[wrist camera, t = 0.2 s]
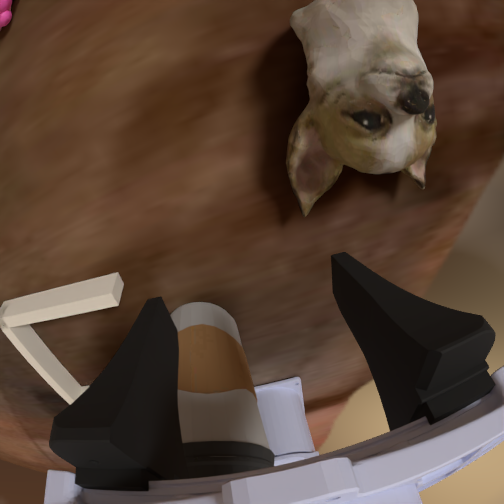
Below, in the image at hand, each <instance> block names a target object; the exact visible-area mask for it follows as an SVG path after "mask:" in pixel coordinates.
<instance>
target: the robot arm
mask: <svg viewBox="0 0 504 504" xmlns="http://www.w3.org/2000/svg"><path fill="white" fill-rule="evenodd" d="M331 263H332V285H333V294H334V297H335V299H336V302H337V304H338V307H339V309H340V311H341V313H342V315H343V317H344V319H345V321H346V322H347V324H348V326H349V328H350V330H351V332H352V333H353V335H354V337H355V339H356V341H357V342H358V344H359V346H360V348H361V350H362V352H363V354H364V356H365V358H366V360H367V363H368V365H369V368H370V370H371V373H372V376H373V378H374V381H375V384H376V387H377V390H378V392H379V395H380V398H381V402H382V404H383V408H384V411H385V414H386V418H387V421H388V425H389V429H390V432H387V433H385V434H383V435H380V436H377V437H374V438H372V439H369V440H366V441H363V442H360V443H357V444H355V445H352V446H348V447H345V448H342V449H339V450H336V451H333V452H329V453H326V454H323V455H319V452H318V451H317V452H315V448H314V445H313V441H312V438H311V434H310V431H309V427H308V424H307V420H306V417H305V414H304V413H305V411H304V402H303V394H302V386H301V380H300V378H299V377H294V378H290V379H286V380H282V381H278V382H274V383H269V384H265V385H261V386H256V387H254V389H255V393H256V396H257V405H258V409H259V412H260V416H261V419H262V423H263V427H264V430H265V434H266V437H267V441H268V444H269V448H270V450H272V452H273V453H274V455H275V460H274V467H269V468H264V469H258V470H253V471H247V472H241V473H235V474H228V475H220V476H212V477H203V478H193V479H190V478H189V473H188V469H187V464H186V460H185V454H184V449H183V443H182V436H181V429H180V421H179V412H178V367H179V342H178V331H177V328H176V326H175V324H174V322H173V320H172V318H171V316H170V314H169V312H168V310H167V308H166V306H165V304H164V302H163V300H162V297H156V298H152V299H148V300H147V302H146V303H145V305H144V307H143V308H142V310H141V312H140V314H139V316H138V317H137V319H136V321H135V323H134V325H133V326H132V328H131V330H130V332H129V333H128V335H127V337H126V338H125V340H124V341H123V343H122V345H121V346H120V348H119V349H118V351H117V353H116V354H115V355H114V357H113V358H112V360H111V361H110V362H109V364H108V365H107V366H106V368H105V369H104V370H103V371H102V373H101V374H100V375H99V376H98V377H97V378H96V380H95V381H94V382H93V383H92V384H91V385H90V386H89V387H88V388H87V389H86V390H85V391H84V392H83V393H82V394H81V395H80V396H79V397H78V398H77V399H76V400H75V401H74V402H73V403H72V404H71V405H69V406H68V407H67V408H66V409H64V410H63V411H62V412H61V413H59V414H58V415H57V416H55V417H54V420H53V425H52V430H51V435H50V441H49V447H50V448H51V449H52V451H53V452H54V453H55V454H57V455H58V456H59V457H61V458H62V459H64V460H65V461H67V462H69V463H70V464H72V465H73V466H75V467H76V474H75V473H72V472H68V471H60V470H51V469H49V470H48V474H47V482H46V491H45V500H44V504H423V503H422V500H421V498H420V495H419V493H418V492H420V491H422V490H424V489H426V488H428V487H430V486H432V485H434V484H436V483H437V482H439V481H441V480H443V479H445V478H446V477H448V476H450V475H452V474H453V473H455V472H457V471H459V470H460V469H462V468H463V467H465V466H467V465H468V464H470V463H471V462H473V461H475V460H476V459H478V458H479V457H481V456H482V455H484V454H485V453H487V452H488V451H490V450H491V449H492V448H494V447H495V446H497V445H498V444H500V443H501V442H502V441H504V366H502V367H501V368H499V369H498V370H496V371H495V372H494V373H493V374H492V375H491V376H490V375H489V373H488V372H487V370H488V368H489V366H488V364H487V362H486V361H485V359H486V357H487V355H488V353H489V352H490V350H491V348H492V346H493V344H494V341H495V332H494V330H493V329H492V327H491V326H490V325H489V324H488V322H487V321H486V320H485V319H484V318H483V317H482V316H481V315H476V314H471V313H466V312H461V311H457V310H454V309H450V308H447V307H444V306H441V305H438V304H435V303H432V302H430V301H427V300H425V299H422V298H420V297H418V296H415V295H413V294H411V293H409V292H407V291H405V290H403V289H401V288H399V287H398V286H396V285H394V284H392V283H391V282H389V281H387V280H386V279H384V278H382V277H381V276H379V275H378V274H376V273H375V272H373V271H372V270H370V269H369V268H367V267H366V266H364V265H363V264H362V263H360V262H359V261H357V260H356V259H354V258H353V257H352V256H350V255H349V254H347V253H346V252H342V253H338V254H334V255H331Z"/></svg>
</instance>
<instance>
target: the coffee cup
mask: <svg viewBox="0 0 504 504" xmlns="http://www.w3.org/2000/svg"><path fill="white" fill-rule="evenodd" d="M170 316H171V318H172V320H173V322H174V324H175V326H176V328H177V331H178V342H179V367H178V412H179V421H180V429H181V436H182V443H183V449H184V454H185V460H186V464H187V469H188V473H189V478H190V479H193V478H203V477H212V476H220V475H228V474H235V473H241V472H247V471H253V470H258V469H264V468H269V467H274V460H275V455H274V453H273V452H272V450H270V448H269V444H268V441H267V437H266V434H265V430H264V427H263V423H262V419H261V416H260V412H259V409H258V405H257V396H256V393H255V389H254V385H253V382H252V378H251V374H250V370H249V367H248V363H247V359H246V356H245V352H244V350H243V348H242V344H241V341H240V337H239V333H238V329H237V325H236V323H235V321H234V319H233V318H232V317H231V316H230V314H229V313H227V312H226V310H224V309H223V308H221V307H219V306H217V305H214V304H211V303H205V302H194V303H189V304H185V305H183V306H181V307H179V308H177V309H176V310H174V311H173V312H172V313H171V315H170Z"/></svg>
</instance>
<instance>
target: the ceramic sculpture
mask: <svg viewBox="0 0 504 504" xmlns="http://www.w3.org/2000/svg"><path fill="white" fill-rule="evenodd" d="M290 25H291V27H292V28H293V30H294V31H295V33H296V35H297V37H298V38H299V39H300V41H301V42H302V44H303V49H304V52H305V55H306V61H307V64H308V69H307V75H308V81H307V87H308V89H309V97H310V101H309V103H308V105H307V106H306V108H305V109H304V111H303V112H302V113H301V114H300V116H299V117H298V119H297V120H296V122H295V123H294V126H293V128H292V130H291V133H290V135H289V139H288V146H287V156H286V166H287V172H288V176H289V179H290V184H291V187H292V190H293V193H294V195H295V196H296V198H297V200H298V203H299V206H300V209H301V212H302V215H303V216H304V217H305V216H307V215H308V213H309V212H310V210H311V208H312V206H313V205H314V203H315V202H316V201H317V200H318V199H319V198H320V197H321V196H322V195H323V194H324V192H325V191H327V190H329V189H330V188H331V187H332V186H333V185H334V183H335V182H336V181H337V179H338V177H339V175H340V173H341V172H342V168H343V165H344V164H345V165H347V166H349V167H352V168H354V169H356V170H358V171H359V172H363V173H371V174H389V173H394V172H397V171H402V172H403V173H405V174H406V175H407V176H409V177H410V178H411V179H412V180H413V181H414V182H415V184H416V185H417V186H418V187H419V188H420V189H424V188H425V180H426V177H425V169H426V163H427V160H428V158H429V156H430V153H431V150H432V149H431V146H432V145H434V142H435V139H436V131H435V130H436V125H437V120H436V118H435V108H434V101H433V96H432V93H433V79H432V76H431V74H430V73H429V72H428V71H427V68H426V65H425V63H424V61H423V59H422V56H421V54H420V51H419V49H418V46H417V29H418V12H417V8H416V5H415V3H414V1H413V0H315V1H314V2H312V3H311V4H310V5H308V6H306V7H304V8H301V9H298V10H296V11H294V12H293V14H292V16H291V18H290Z"/></svg>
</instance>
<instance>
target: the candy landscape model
mask: <svg viewBox="0 0 504 504" xmlns="http://www.w3.org/2000/svg"><path fill="white" fill-rule="evenodd" d="M11 5H12V0H0V30H1V28H2V27H3V26H6V25H7V24H8V23H9V22H10V21H11V18H12V13H11Z"/></svg>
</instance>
